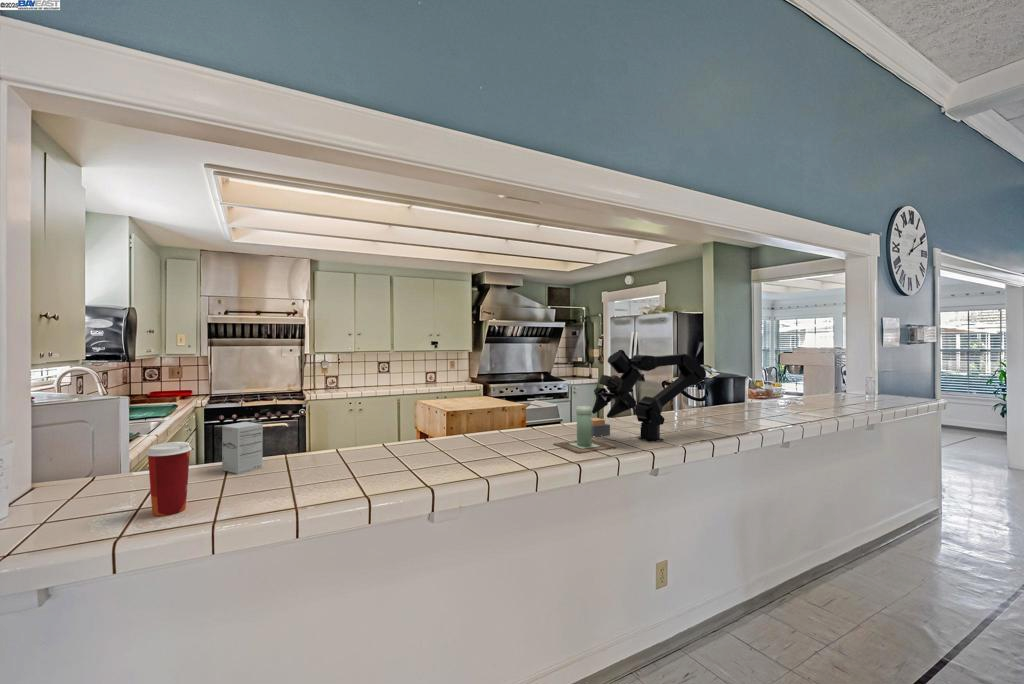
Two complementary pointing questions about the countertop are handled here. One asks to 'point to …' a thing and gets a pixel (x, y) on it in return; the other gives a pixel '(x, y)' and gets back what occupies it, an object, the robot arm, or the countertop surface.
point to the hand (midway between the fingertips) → (599, 415)
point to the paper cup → (168, 477)
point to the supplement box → (242, 447)
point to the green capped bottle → (584, 425)
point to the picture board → (582, 449)
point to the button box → (601, 430)
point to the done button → (597, 421)
